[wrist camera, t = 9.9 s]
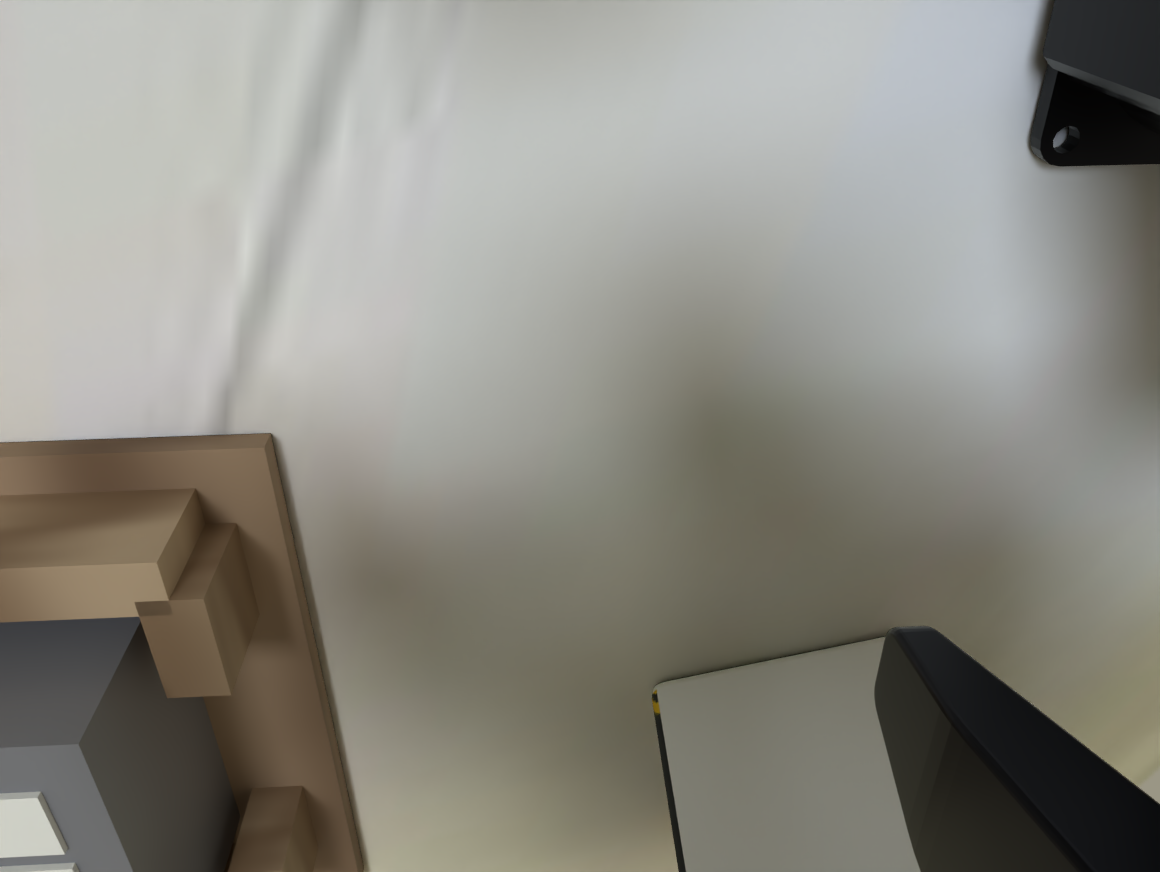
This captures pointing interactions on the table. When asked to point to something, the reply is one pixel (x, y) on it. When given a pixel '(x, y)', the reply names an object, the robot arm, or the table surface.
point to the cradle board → (193, 611)
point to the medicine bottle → (782, 767)
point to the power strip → (104, 756)
